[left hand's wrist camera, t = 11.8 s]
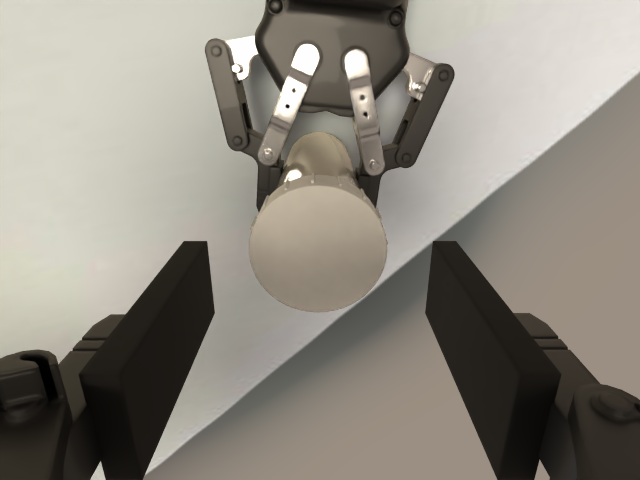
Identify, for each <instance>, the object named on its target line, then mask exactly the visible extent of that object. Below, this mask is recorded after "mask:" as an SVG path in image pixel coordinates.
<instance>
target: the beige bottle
mask: <svg viewBox="0 0 640 480" xmlns="http://www.w3.org/2000/svg"><path fill="white" fill-rule="evenodd" d="M312 173H314V175H328V176H333V177H337V178H338V176H340V177H341V179H343V180H345V181H347V182H349V183H351V184H353V185H354V186H356V187H357V188H359V189H360V187H359V184H358V181H357V178H356V175H355V173H354V170H353V167H352V164H351V161H350V158H349V155H348V152H347V150H346V148H345V146H344V145H343V143H342V142H341V141H340V140H339V139H338V138H336V137H335V136H333V135H331V134H328V133H324V132H313V133H309V134H306V135H304V136H302V137H301V138H299V139H298V140H297V141H296V142H295V143H294V145H293V146H292V148H291V150H290V152H289V155H288V158H287V160H286V163H285V166H284V169H283V172H282V174H281V177H280V180H279V183H278V186H277V188H279V187H280V186H282V185H283V184H285V183H286V180H289V181H291V180H293V179H296V178H299V177H303V176H308V175H312ZM277 188H276V189H277Z"/></svg>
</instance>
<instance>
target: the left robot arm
mask: <svg viewBox="0 0 640 480" xmlns="http://www.w3.org/2000/svg"><path fill="white" fill-rule="evenodd" d="M214 313H215V311H214V302H213V293H212V283H211V274H210V264H209V255H208V246H207V241H184V242H183V243H182V244H181V246H180V247H179V248H178V249H177V251H176V252H175V253H174V254H173V256H172V257H171V258H170V259H169V261H168V262H167V263H166V264H165V266H164V267H163V268H162V269H161V271H160V272H159V273H158V275H157V276H156V277H155V278H154V280H153V281H152V282H151V283H150V285H149V286H148V287H147V288H146V290H145V291H144V292H143V293H142V295H141V296H140V297H139V298H138V300H137V301H136V302H135V303H134V305H133V306H132V307H131V309H130V310H129V311H128V312H127V314H126V315H109V316H108V317H106V318H104V319H103V320H101V321H100V322H98V323H96V324H95V325H93V326H92V328H91V329H90V330H89V331H88V332H87V333H86V334H85V335H84V337H83V338H82V341H79V342H78V343H77V344H76V346H75V347H74V348H73V351H70V352H69V353H68V355H67V356H66V357H65V358H64V359H63V360H62V361H61V362H60V364H59V365H58V362H57V359H56V356H55V355H54V354H52V353H51V352H49V351H43V350H30V351H22V352H18V353H15V354H11V355H8V356H5V357H3V358H1V359H0V480H90V479H91V477H92V475H93V473H94V472H95V470H96V468H97V466H98V464H99V463H100V461H101V463H102V467H103V471H104V475H105V479H106V480H143V477H144V475H145V473H146V470H147V468H148V466H149V464H150V461H151V459H152V457H153V454H154V452H155V450H156V447H157V445H158V443H159V440H160V438H161V436H162V434H163V431H164V429H165V427H166V424H167V422H168V420H169V417H170V415H171V413H172V410H173V408H174V406H175V404H176V401H177V399H178V397H179V394H180V392H181V390H182V387H183V385H184V383H185V380H186V378H187V376H188V373H189V371H190V369H191V367H192V364H193V362H194V360H195V357H196V355H197V353H198V350H199V348H200V346H201V343H202V341H203V339H204V337H205V334H206V332H207V330H208V327H209V325H210V323H211V320H212V318H213V316H214ZM425 313H426V316H427V318H428V320H429V323H430V325H431V327H432V330H433V332H434V334H435V337H436V339H437V341H438V343H439V346H440V348H441V350H442V353H443V355H444V357H445V360H446V362H447V364H448V367H449V369H450V371H451V373H452V376H453V378H454V380H455V383H456V385H457V387H458V390H459V392H460V394H461V397H462V399H463V401H464V403H465V406H466V408H467V410H468V413H469V415H470V417H471V420H472V422H473V424H474V427H475V429H476V431H477V434H478V436H479V438H480V440H481V443H482V445H483V447H484V450H485V452H486V454H487V457H488V459H489V461H490V463H491V466H492V468H493V470H494V473H495V475H496V477H497V480H534V478H535V475H536V471H537V467H538V463H539V459H540V460H541V462H542V464H543V466H544V468H545V469H546V471H547V473H548V475H549V476H550V480H640V400H639V399H638V398H636V397H634V396H632V395H631V394H629V393H627V392H625V391H623V390H620V389H617V388H614V387H611V386H608V385H602V384H600V383H599V382H598V381H597V380H596V378H595V377H594V376H593V375H592V374H591V373H590V372H589V371H588V370H587V368H586V367H585V366H584V365H583V364H582V363H581V362H580V361H579V359H578V358H577V357H576V356H575V355H574V354H573V353H572V352H571V351H570V350H568V347H567V346H566V345H565V344H564V343H563V341H562V340H561V339H558V336H557V335H556V334H555V332H554V331H553V330H552V329H551V328H550V327H549V326H548V325H547V324H546V323H544V322H543V321H541V320H540V319H538V318H536V317H535V316H533V315H532V314H530V313H513V312H512V311H511V310H510V309H509V307H508V306H507V305H506V304H505V302H504V301H503V300H502V298H501V297H500V296H499V295H498V293H497V292H496V291H495V290H494V288H493V287H492V286H491V285H490V283H489V282H488V281H487V280H486V278H485V277H484V276H483V275H482V273H481V272H480V271H479V270H478V268H477V267H476V266H475V264H474V263H473V262H472V261H471V259H470V258H469V257H468V256H467V254H466V253H465V252H464V251H463V249H462V248H461V247H460V246H459V244H458V243H457V242H456V241H433V246H432V255H431V264H430V274H429V283H428V293H427V302H426V311H425Z"/></svg>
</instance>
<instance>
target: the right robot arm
mask: <svg viewBox="0 0 640 480" xmlns="http://www.w3.org/2000/svg"><path fill="white" fill-rule="evenodd" d="M407 4H408V0H266V7H265V12H264V16H263V18H262V21H261V23H260V24H259V26H258V28H257V30H256V32H255V36H251V37H245V38H240V39H235V40H229V41H223V40H220V39H211V40H209V41H208V42H207V44H206V46H205V53H206V57H207V62H208V66H209V70H210V74H211V78H212V82H213V86H214V90H215V94H216V98H217V102H218V107H219V111H220V115H221V119H222V123H223V127H224V131H225V135H226V139H227V143H228V145H229V147H230V148H231V149H232V150H234V151H241V152H243V153H246V154H248V155H250V156H252V157H253V158H254V159H255V160H256V162H257V164H258V184H257V209H258V211H259V212H260V210H261V207H262V206H263V203H264V201H265V199H266V196H267V195H268V196H270V195H271V194H272V193H273V192H274V191H275V190H276V188H277V186H278V183H279V180H280V177H281V174H282V172H283V165H284V161H283V160H281V151H282V149H283V146H284V144H285V141H286V139H287V137H288V134H289V132H290V129H291V127H292V125H293V122H294V120H295V118H296V115H297V113H298V110H299V112H306V113H316V112H322V111H328V112H331V113H334V114H336V115H339V116H345V117H352V121H353V126H354V130H355V134H356V139H357V144H358V149H359V154H360V165H359V168H356V169H355V175H356V178H357V181H358V184H359V187H360V189H361V188H362V189H363V191H364V193H365V195H366V196H367V197H368V198H369V199H370V201H371V202H372V204H373V205H374V207H375V209H376V204H377V198H378V191H379V184H380V179H381V177H382V175H383V174H384V173H385V172H386V171H388V170H390V169H394V168H398V167H403V168H409V167H411V166H412V165H414V163H415V162H416V160H417V158H418V155H419V153H420V151H421V149H422V147H423V144H424V142H425V140H426V138H427V136H428V134H429V131H430V129H431V127H432V125H433V123H434V121H435V118H436V116H437V114H438V112H439V110H440V108H441V105H442V103H443V101H444V99H445V97H446V94H447V92H448V90H449V88H450V86H451V84H452V81H453V79H454V70H453V68H452V67H451V66H450V65H448V64H443V63H434V62H431V61H429V60H427V59H424V58H422V57H419V56H417V55H415V54H412V53H410V48H409V44H408V41H407V38H406V33H405V18H406V11H407ZM257 55H259V56H260V58H261V60H262V61H263V63H264V65H265V66H266V68H267V70H268V71H269V73H270V75H271V77H272V78H273V80H274V82H275V83H276V85H277V87H278V89H279V90H280V92H281V94H280V96H279V99H278V101H277V104H276V106H275V109H274V111H273V114H272V116H271V119H270V122H269V125H268V128H267V130H266V133H265V135H263V134H261V133H259V132H256V131H254V130H253V128H252V123H251V118H250V114H249V109H248V105H247V100H246V96H245V91H244V87H243V82H242V80H243V79H246V78H248V77H249V75H250V73H251V62H252V60H253V58H254V57H255V56H257ZM402 70H403V71H404V72H405V74H406V76H407V83H406V92H407V94H408V95H409V96H411V97H412V98H411V101H410V103H409V105H408V108H407V110H406V112H405V115H404V117H403V119H402V122H401V124H400V126H399V129H398V131H397V133H396V135H395V138H394V140H393V142H392V144H389V145H385V146H382V145H381V140H380V129H379V123H378V118H377V112H376V106H375V100H376V99H377V98H378V97H379V96H380V94H381V93H382V92H383V91H384V90H385V89H386V88H387V87H388V85H389V84H390V83H391V82H392V81H393V80H394V79H395V78H396V76H397V75H398V74H399V73H400V72H401V71H402Z"/></svg>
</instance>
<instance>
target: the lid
mask: <svg viewBox="0 0 640 480" xmlns="http://www.w3.org/2000/svg"><path fill="white" fill-rule="evenodd" d="M381 220H382V218H381V216H380V213H379V211H378V209H377V208H376V209H375V207H374V205H373V204H372V202H371V201H370V199H369V198H368V197H367V196H366V195H365V193H364V191H363V189H362V188H361V189H359V188H357V187H356V186H354V185H353V184H351V183H349V182H347V181H345V180H343V179H341V177H340V176H338V178H337V177H333V176H328V175H314V173H312V175H308V176H303V177H299V178H296V179H293V180H291V181H289V180H286V183H285V184H283V185H282V186H280V187H279V188H277V189H276V190H275V191H274V192H273V193H272V194H271V195H270V196H268V195H267V196H266V199H265V201H264V203H263V206H262V207H261V210H260V212H259V214H258V216H257V217H255V219H254V221H253V224H252V226H251V229H252V232H251V235H250V242H249V255H250V262H251V265H252V268H253V271H254V273H255V275H256V277H257V279H258V280H259V282H260V284H261V285H262V286H263V287H264V289H265V290H266V291H267V292H268V293H269V294H270V295H272V296H273V297H274V298H276V299H277V300H278V301H280V302H282V303H284V304H285V305H287V306H290V307H292V308H295V309H299V310H303V311H309V312H328V311H333V310H338V309H341V308H344V307H346V306H349V305H351V304H353V303H354V302H356V301H358V300H359V299H361V298H362V297H363V296H365V295H366V294H367V293H368V292H369V291H370V290H371V289H372V287H373V286H374V285H375V284H376V282H377V281H378V279H379V277H380V276H381V273H382V271H383V269H384V265H385V262H386V256H387V240H386V235H385V232H384V229H383V226H382V223H381Z"/></svg>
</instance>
